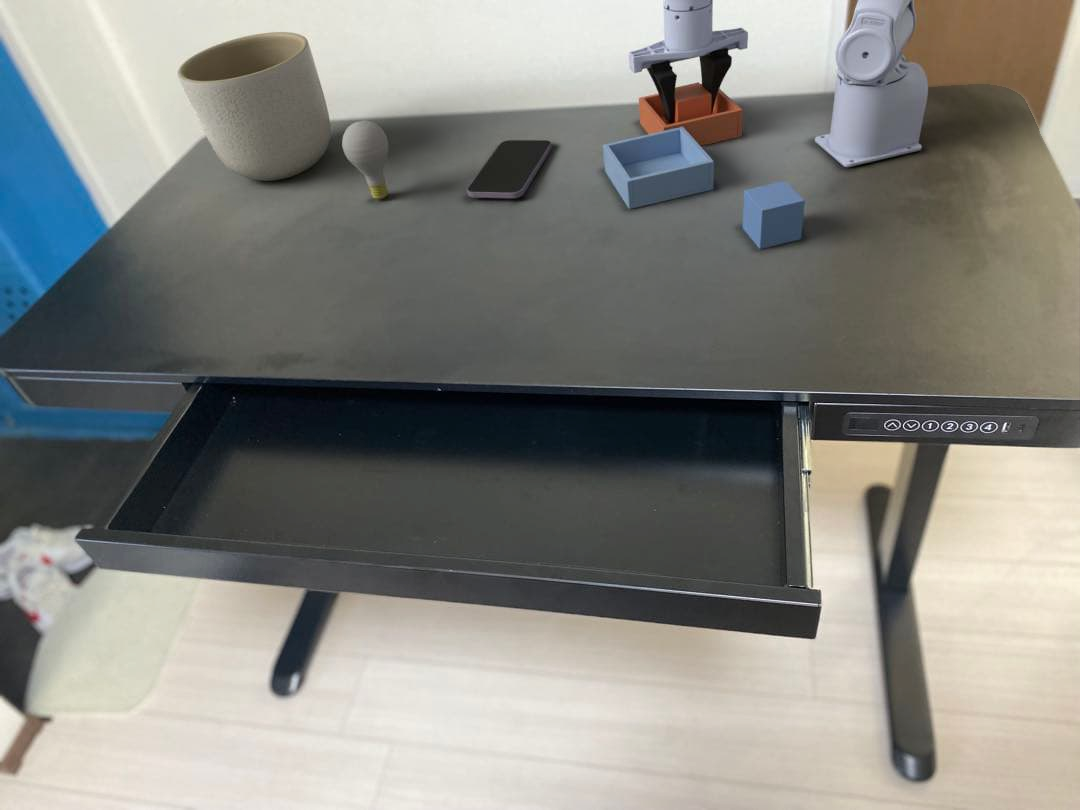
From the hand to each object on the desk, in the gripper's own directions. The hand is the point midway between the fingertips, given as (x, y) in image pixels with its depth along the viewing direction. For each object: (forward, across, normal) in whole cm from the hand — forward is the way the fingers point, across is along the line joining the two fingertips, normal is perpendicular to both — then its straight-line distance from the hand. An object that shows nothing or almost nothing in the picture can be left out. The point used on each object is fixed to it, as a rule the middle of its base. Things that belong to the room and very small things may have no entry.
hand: (688, 115), depth 102 cm
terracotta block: (+1, 0, 0) cm, 1 cm away
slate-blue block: (+2, +1, +28) cm, 28 cm away
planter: (+2, +54, -18) cm, 57 cm away
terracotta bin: (+2, 0, 0) cm, 2 cm away
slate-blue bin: (+2, +8, +11) cm, 14 cm away
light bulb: (+2, +41, 0) cm, 41 cm away
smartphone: (+2, +24, 0) cm, 24 cm away
